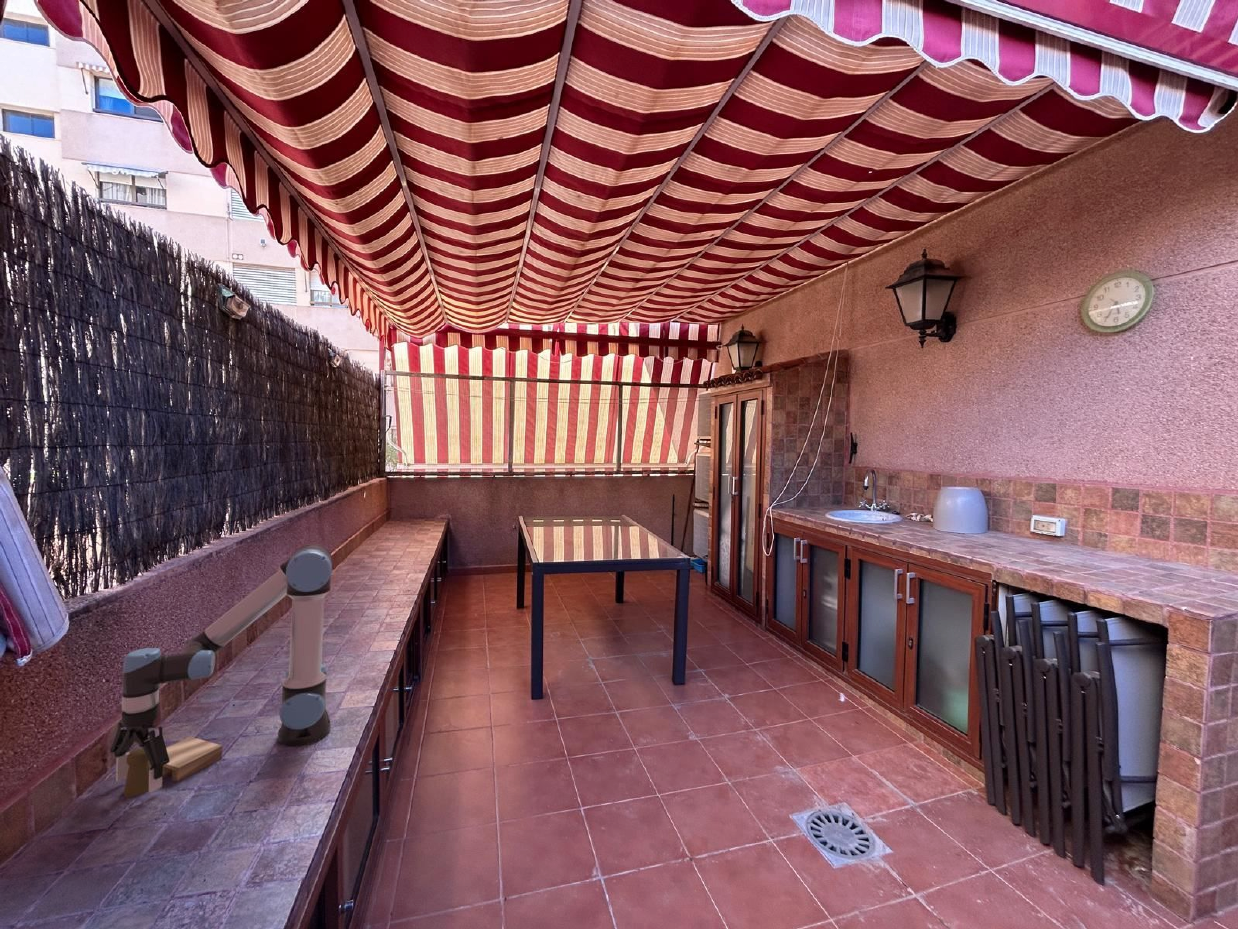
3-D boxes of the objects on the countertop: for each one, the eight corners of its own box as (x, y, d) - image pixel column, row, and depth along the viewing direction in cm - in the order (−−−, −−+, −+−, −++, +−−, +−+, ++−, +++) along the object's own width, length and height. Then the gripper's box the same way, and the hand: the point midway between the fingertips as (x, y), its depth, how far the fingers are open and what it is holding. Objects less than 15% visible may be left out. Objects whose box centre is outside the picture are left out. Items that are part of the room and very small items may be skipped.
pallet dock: (222, 758, 157) (222, 745, 157) (178, 782, 145) (178, 768, 145) (190, 749, 161) (190, 736, 161) (144, 771, 149) (145, 757, 149)
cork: (151, 780, 146) (152, 741, 145) (155, 789, 142) (156, 750, 142) (121, 790, 141) (122, 750, 141) (125, 800, 137) (126, 759, 137)
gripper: (187, 709, 141) (185, 786, 141) (127, 693, 148) (125, 766, 149) (155, 722, 134) (153, 803, 134) (94, 705, 141) (92, 781, 141)
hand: (138, 784), depth 141 cm, fingers open, 13 cm apart
